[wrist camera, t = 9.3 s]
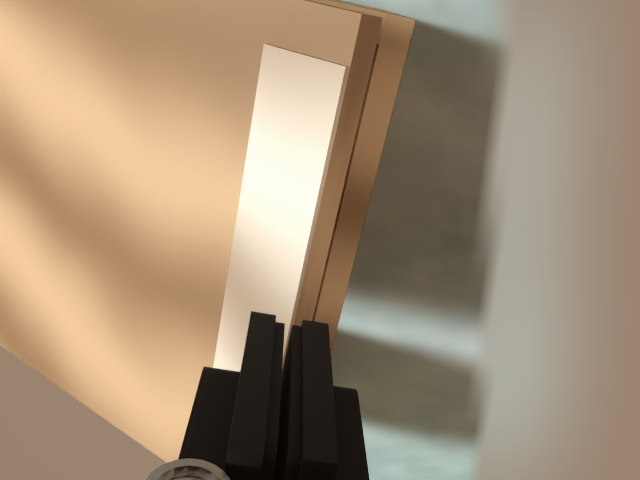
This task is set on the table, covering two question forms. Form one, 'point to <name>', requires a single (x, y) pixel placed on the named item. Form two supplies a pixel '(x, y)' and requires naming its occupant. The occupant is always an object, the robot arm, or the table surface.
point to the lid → (167, 187)
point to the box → (362, 158)
